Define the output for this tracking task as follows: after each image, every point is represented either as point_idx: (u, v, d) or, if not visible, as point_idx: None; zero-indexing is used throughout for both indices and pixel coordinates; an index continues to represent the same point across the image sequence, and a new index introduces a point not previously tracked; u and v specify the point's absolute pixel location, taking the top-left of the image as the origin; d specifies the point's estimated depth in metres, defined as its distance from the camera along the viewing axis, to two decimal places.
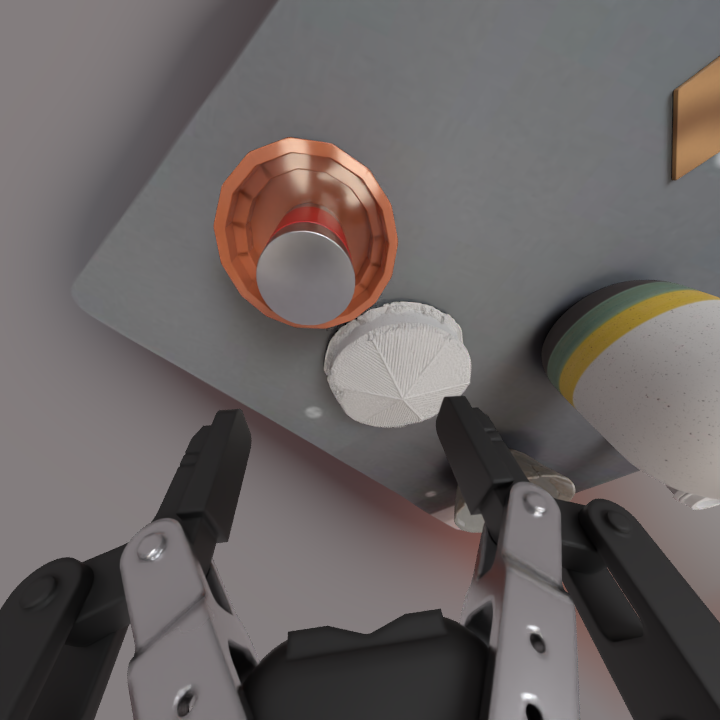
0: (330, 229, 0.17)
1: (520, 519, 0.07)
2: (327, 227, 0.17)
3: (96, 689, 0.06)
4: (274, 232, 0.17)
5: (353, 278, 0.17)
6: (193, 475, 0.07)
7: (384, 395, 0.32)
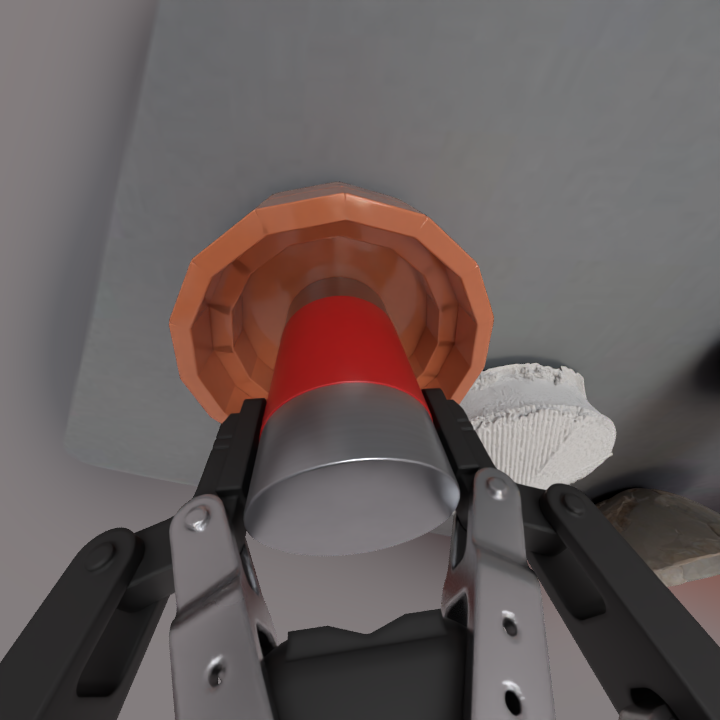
0: (379, 382, 0.08)
1: (481, 502, 0.07)
2: (372, 381, 0.08)
3: (136, 656, 0.06)
4: (268, 413, 0.08)
5: (456, 492, 0.07)
6: (228, 457, 0.08)
7: None
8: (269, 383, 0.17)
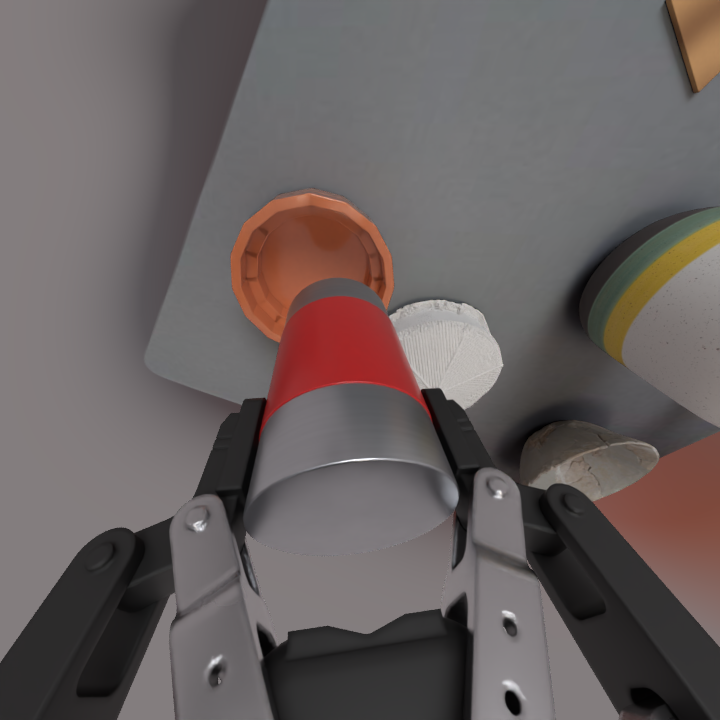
0: (379, 383, 0.08)
1: (481, 502, 0.07)
2: (372, 381, 0.08)
3: (137, 656, 0.06)
4: (268, 413, 0.08)
5: (455, 492, 0.07)
6: (228, 457, 0.08)
7: None
8: (276, 306, 0.28)
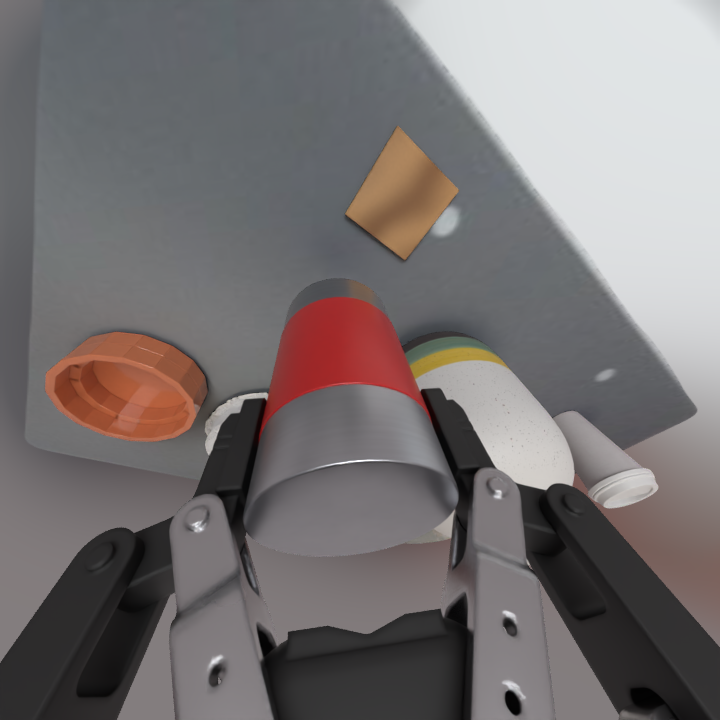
0: (378, 384, 0.08)
1: (481, 502, 0.07)
2: (371, 382, 0.08)
3: (136, 656, 0.06)
4: (268, 414, 0.08)
5: (455, 493, 0.07)
6: (228, 457, 0.08)
7: None
8: (115, 406, 0.35)
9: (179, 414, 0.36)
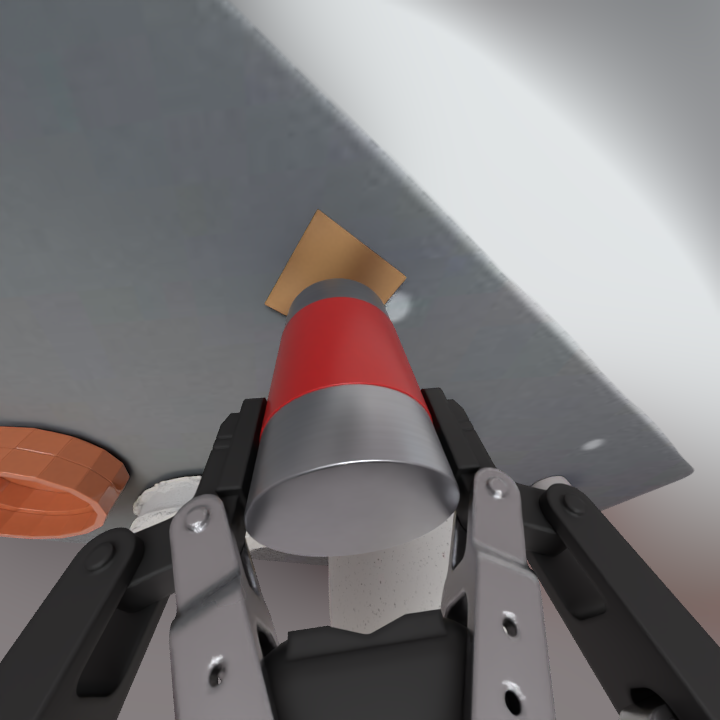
0: (379, 384, 0.08)
1: (481, 501, 0.07)
2: (372, 383, 0.08)
3: (136, 655, 0.06)
4: (269, 414, 0.08)
5: (456, 493, 0.07)
6: (228, 457, 0.08)
7: None
8: (15, 498, 0.30)
9: None
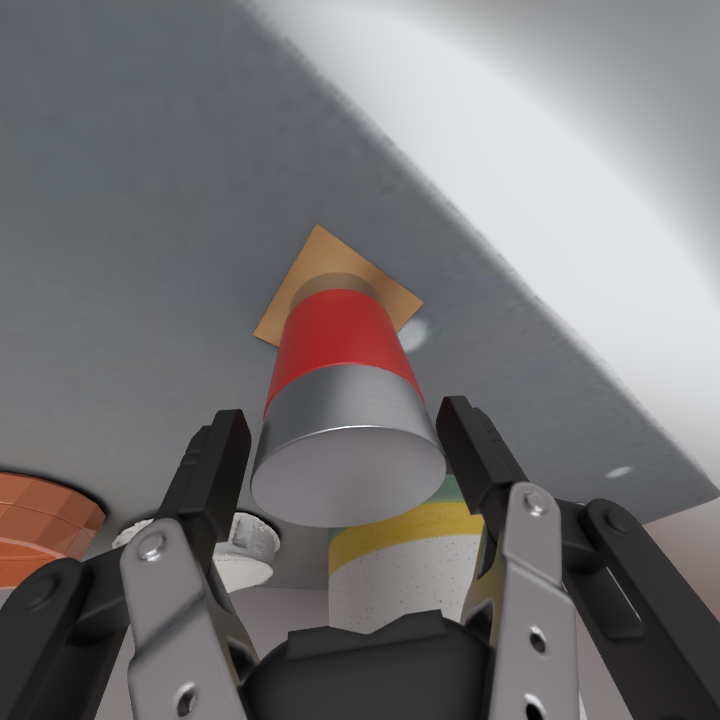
0: (374, 364, 0.09)
1: (520, 519, 0.07)
2: (367, 363, 0.09)
3: (97, 688, 0.06)
4: (272, 393, 0.09)
5: (443, 462, 0.08)
6: (193, 475, 0.07)
7: None
8: None
9: None
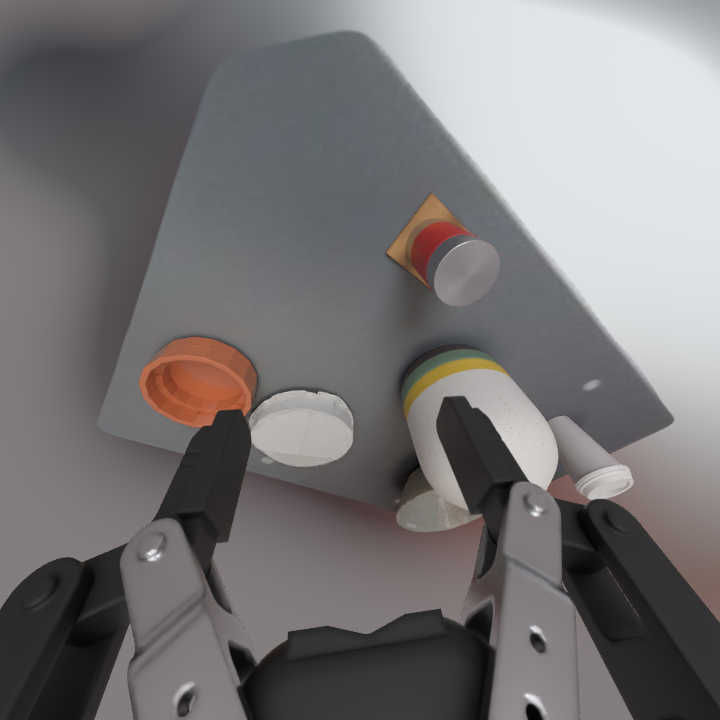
0: (473, 235, 0.25)
1: (520, 519, 0.07)
2: (471, 234, 0.25)
3: (96, 688, 0.06)
4: (435, 247, 0.25)
5: (499, 265, 0.24)
6: (193, 475, 0.07)
7: (289, 453, 0.47)
8: (182, 398, 0.42)
9: (233, 406, 0.43)
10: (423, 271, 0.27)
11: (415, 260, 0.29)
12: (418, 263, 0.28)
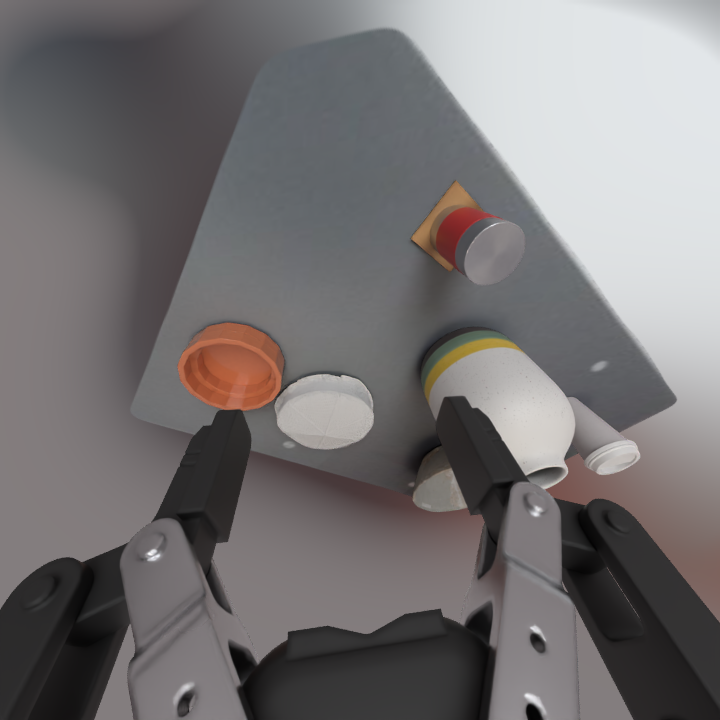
0: (500, 218, 0.27)
1: (520, 519, 0.07)
2: (498, 217, 0.27)
3: (96, 689, 0.06)
4: (464, 230, 0.27)
5: (524, 245, 0.26)
6: (193, 475, 0.07)
7: (314, 434, 0.49)
8: (214, 382, 0.44)
9: (262, 389, 0.46)
10: (451, 253, 0.29)
11: (441, 244, 0.31)
12: (445, 246, 0.31)
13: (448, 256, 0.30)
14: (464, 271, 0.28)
